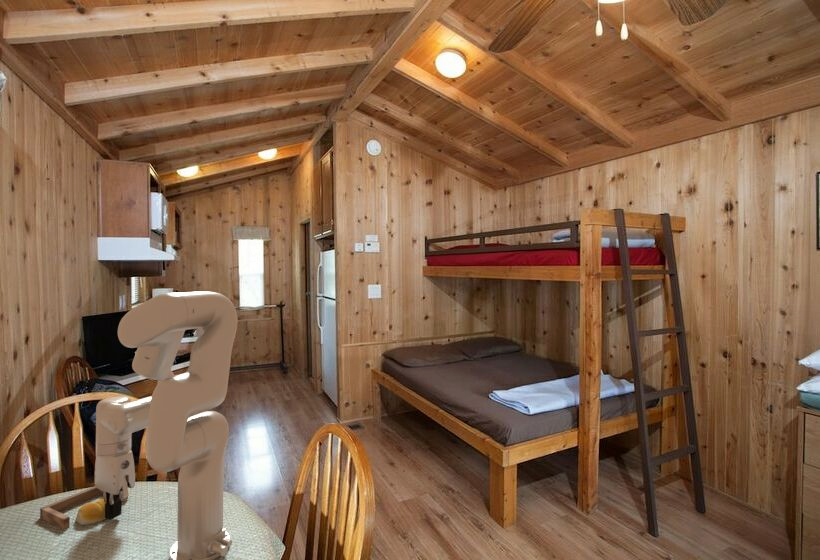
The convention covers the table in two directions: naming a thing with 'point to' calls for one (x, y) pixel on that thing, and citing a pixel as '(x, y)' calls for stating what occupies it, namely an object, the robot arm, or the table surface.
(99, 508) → the bread roll
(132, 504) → the table surface
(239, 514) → the table surface
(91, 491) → the frame
